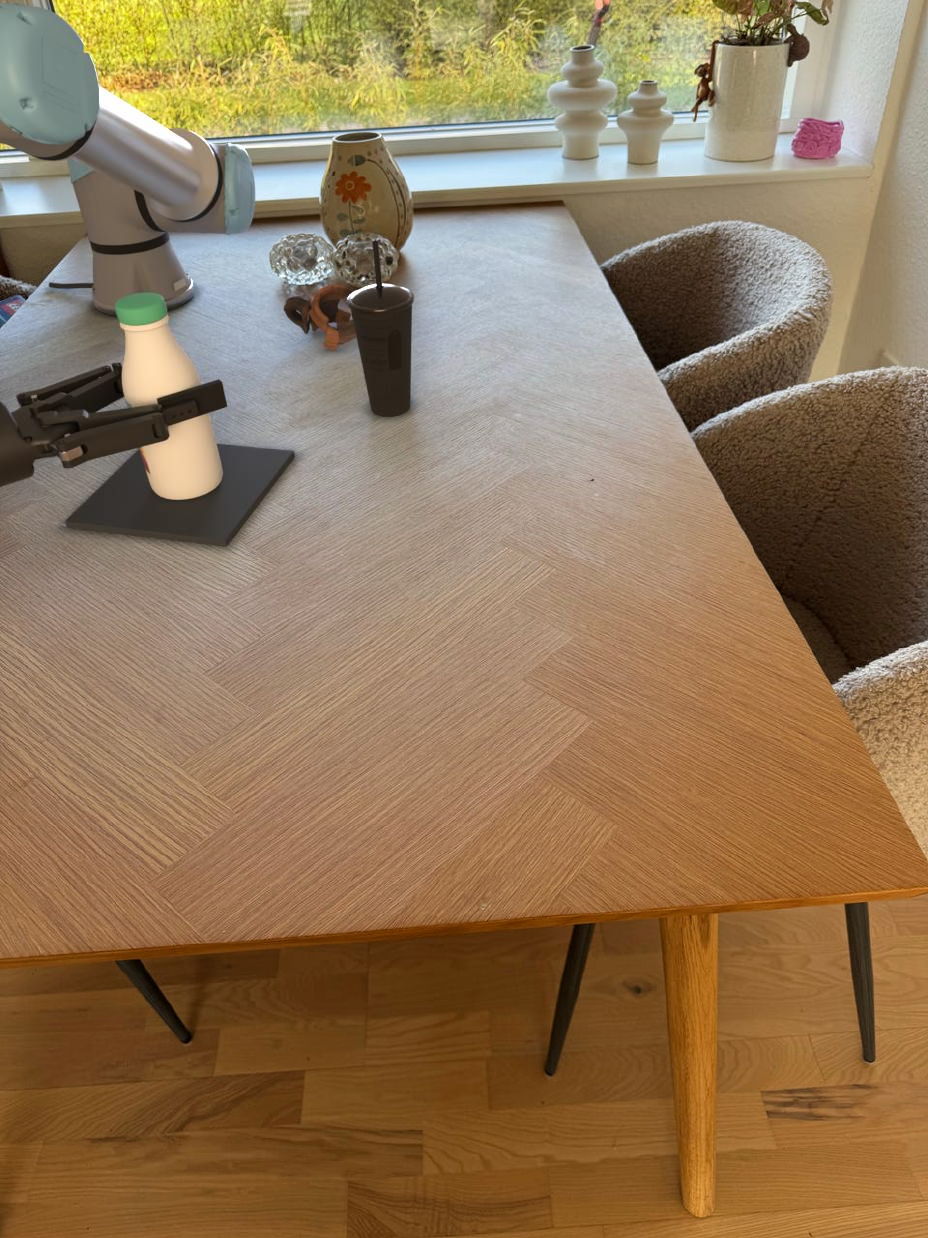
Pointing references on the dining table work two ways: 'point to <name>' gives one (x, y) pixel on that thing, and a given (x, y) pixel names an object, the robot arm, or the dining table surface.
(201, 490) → the milk bottle
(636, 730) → the dining table surface
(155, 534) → the slate mat
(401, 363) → the drinking cup
